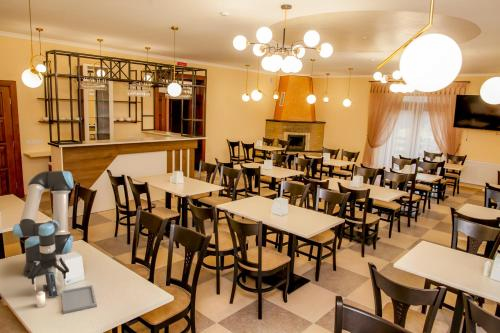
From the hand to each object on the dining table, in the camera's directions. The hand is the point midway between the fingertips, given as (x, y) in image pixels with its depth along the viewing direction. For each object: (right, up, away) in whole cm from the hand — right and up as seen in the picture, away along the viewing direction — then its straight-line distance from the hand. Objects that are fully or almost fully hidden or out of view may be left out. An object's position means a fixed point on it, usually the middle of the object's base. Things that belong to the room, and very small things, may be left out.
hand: (49, 286), depth 198 cm
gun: (0, -5, +1) cm, 5 cm away
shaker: (+2, -7, -11) cm, 13 cm away
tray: (+19, -6, -4) cm, 20 cm away
